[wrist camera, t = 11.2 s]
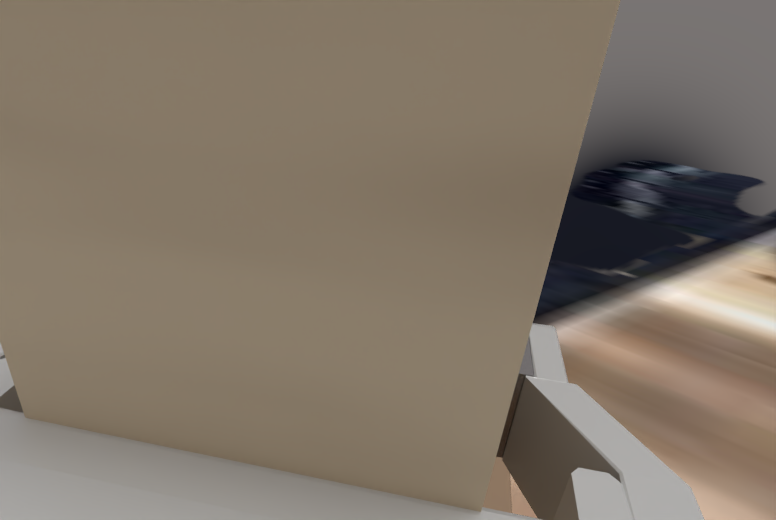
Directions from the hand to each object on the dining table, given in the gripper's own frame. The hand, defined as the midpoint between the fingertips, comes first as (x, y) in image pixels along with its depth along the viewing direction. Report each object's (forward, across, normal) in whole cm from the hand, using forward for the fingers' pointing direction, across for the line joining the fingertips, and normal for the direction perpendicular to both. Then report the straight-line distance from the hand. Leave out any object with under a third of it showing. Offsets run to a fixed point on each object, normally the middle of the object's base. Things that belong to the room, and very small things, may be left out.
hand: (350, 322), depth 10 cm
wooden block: (-1, 0, +8) cm, 8 cm away
